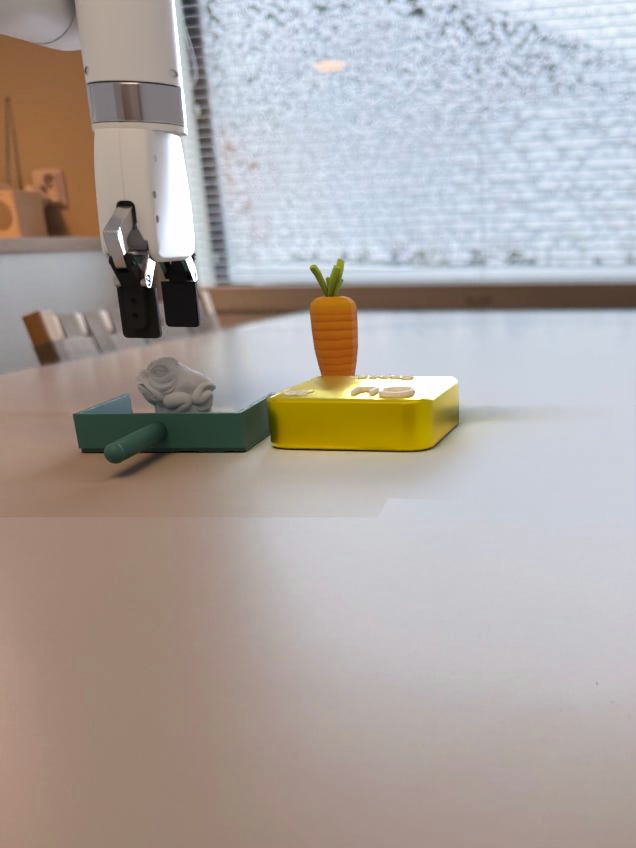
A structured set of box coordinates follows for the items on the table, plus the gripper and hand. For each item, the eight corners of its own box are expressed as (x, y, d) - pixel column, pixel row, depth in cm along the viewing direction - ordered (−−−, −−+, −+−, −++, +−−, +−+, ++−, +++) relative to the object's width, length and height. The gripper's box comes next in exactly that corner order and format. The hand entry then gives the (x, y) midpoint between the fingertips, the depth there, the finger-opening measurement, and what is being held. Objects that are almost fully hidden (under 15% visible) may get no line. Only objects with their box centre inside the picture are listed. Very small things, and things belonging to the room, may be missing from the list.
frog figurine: (140, 433, 90) (128, 356, 87) (216, 426, 92) (206, 351, 90) (148, 444, 85) (135, 363, 82) (228, 437, 87) (218, 358, 85)
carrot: (318, 411, 102) (306, 259, 96) (316, 403, 106) (304, 258, 100) (365, 408, 103) (355, 258, 97) (361, 401, 107) (351, 257, 101)
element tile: (463, 420, 95) (462, 371, 93) (429, 452, 81) (427, 395, 79) (319, 418, 97) (315, 370, 96) (263, 449, 84) (257, 393, 82)
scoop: (131, 428, 94) (125, 393, 93) (278, 427, 93) (275, 392, 92) (23, 479, 75) (14, 436, 74) (207, 479, 74) (201, 435, 72)
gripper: (135, 124, 86) (159, 322, 93) (42, 101, 71) (79, 342, 77) (216, 124, 86) (235, 323, 93) (141, 101, 70) (170, 343, 77)
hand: (164, 331), depth 85 cm, fingers open, 9 cm apart
